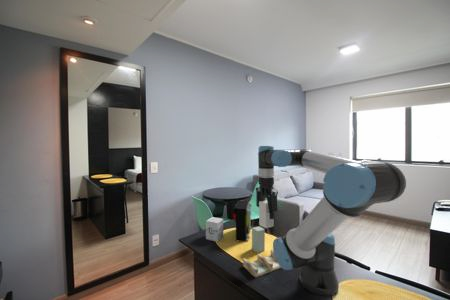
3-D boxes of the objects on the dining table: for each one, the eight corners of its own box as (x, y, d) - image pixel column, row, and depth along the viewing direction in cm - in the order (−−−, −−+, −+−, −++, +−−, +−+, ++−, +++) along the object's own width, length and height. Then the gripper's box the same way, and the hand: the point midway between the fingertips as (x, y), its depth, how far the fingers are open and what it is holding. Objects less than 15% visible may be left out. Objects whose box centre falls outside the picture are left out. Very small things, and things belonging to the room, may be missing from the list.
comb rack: (286, 265, 102) (286, 258, 101) (255, 277, 92) (255, 269, 92) (272, 256, 110) (272, 249, 110) (243, 266, 101) (243, 258, 101)
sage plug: (264, 250, 116) (264, 229, 116) (257, 252, 114) (257, 231, 113) (258, 246, 120) (259, 226, 120) (251, 248, 118) (252, 227, 118)
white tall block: (273, 226, 102) (273, 202, 102) (266, 228, 100) (266, 203, 100) (266, 223, 107) (266, 200, 107) (259, 225, 104) (259, 201, 104)
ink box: (212, 233, 137) (212, 216, 137) (223, 236, 134) (223, 218, 133) (205, 239, 130) (205, 220, 129) (217, 242, 126) (217, 223, 125)
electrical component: (249, 241, 126) (249, 209, 126) (232, 240, 128) (233, 208, 128) (251, 229, 144) (251, 201, 143) (236, 228, 146) (237, 200, 145)
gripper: (285, 178, 97) (285, 227, 97) (259, 174, 113) (260, 217, 113) (273, 179, 93) (274, 231, 94) (248, 175, 109) (249, 219, 109)
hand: (266, 223), depth 103 cm, fingers closed on white tall block, 5 cm apart
